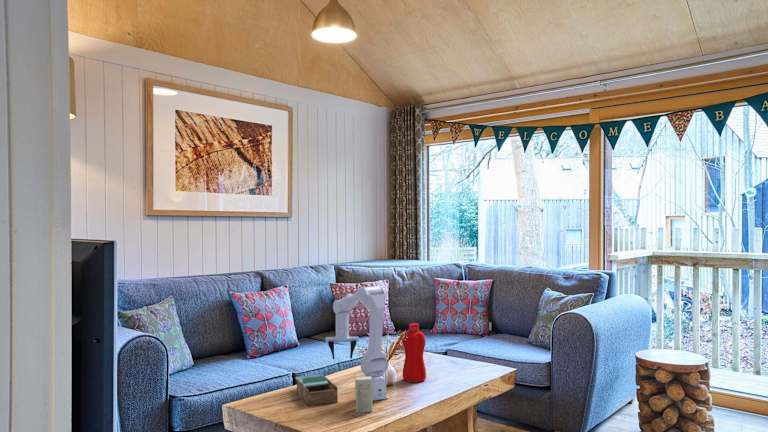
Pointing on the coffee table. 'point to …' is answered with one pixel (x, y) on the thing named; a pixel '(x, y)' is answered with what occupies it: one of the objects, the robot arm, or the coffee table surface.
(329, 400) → the box
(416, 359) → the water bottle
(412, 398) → the coffee table surface
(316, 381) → the lid
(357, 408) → the skincare box
